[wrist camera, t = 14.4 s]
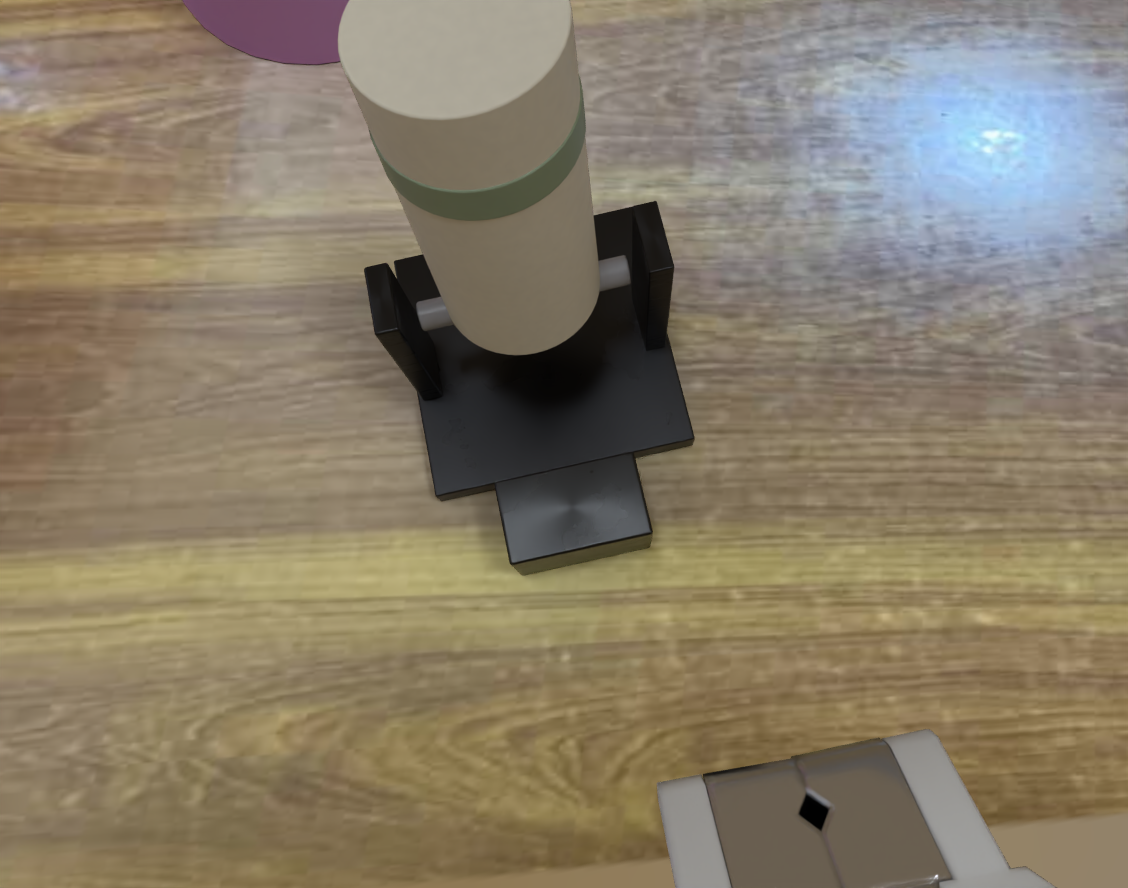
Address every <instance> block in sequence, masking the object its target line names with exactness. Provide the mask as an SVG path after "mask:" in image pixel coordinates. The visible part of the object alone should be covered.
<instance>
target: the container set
mask: <svg viewBox="0 0 1128 888" xmlns="http://www.w3.org/2000/svg"><path fill="white" fill-rule="evenodd" d="M182 1H183V2H184V4H185V5H186V7H187V8H188V9H189V11H190V12H191V13H192V14H193V15H194V16H195V18H196V19H197V20H198V21H199V22H200V23H201V25H202V26H203V27H204V28H205V29H207V30H208V31H209V32H211V33H212V34H213V35H215V36H216V37H218V38H219V39H220V40H222V41H223V42H224V43H226V44H227V45H230V46H232V47H234V48H236V49H239V50H241V51H243V52H245V53H248V54H250V55H252V56H255V57H259V58H264V59H268V60H272V61H277V62H281V63H293V64H324V63H331V62H338V61H340V57H339V53H338V32H339V25H340V21H341V18H342V14H343V12H344V10H345V7H346V5H347V3H348V1H349V0H182Z"/></svg>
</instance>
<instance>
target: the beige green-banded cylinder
mask: <svg viewBox="0 0 1128 888" xmlns="http://www.w3.org/2000/svg"><path fill="white" fill-rule="evenodd" d="M338 53H339V57H340V62H341V65H342V67H343V69H344V72H345V74H346V76H347V79H348V81H349V83H350V86H351V88H352V90H353V93H354V95H355V97H356V100H357V102H358V104H359V107H360V109H361V111H362V114H363V116H364V118H365V121H366V123H367V125H368V128H369V132H370V136H371V140H372V142H373V144H374V147H375V149H376V151H377V154H378V156H379V158H380V161H381V163H382V165H383V167H384V170H385V172H386V174H387V177H388V178H389V180H390V181H391V183H392V184H393V186H394V188H395V190H396V193H397V195H398V197H399V200H400V202H401V204H402V206H403V209H404V211H405V213H406V216H407V218H408V220H409V223H410V225H411V227H412V230H413V232H414V234H415V237H416V239H417V241H418V244H419V246H420V248H421V251H422V253H423V255H424V258H425V260H426V262H427V265H428V267H429V269H430V272H431V274H432V276H433V278H434V281H435V283H436V285H437V288H438V290H439V292H440V295H441V297H437V298H433V299H429V300H424V301H420V302H417V304H416V309H417V315H418V319H419V322H420V325H421V328H422V329H423V331H428V330H432V329H437V328H441V327H445V326H450V325H455V326H456V327H457V329H458V330H459V331H460V332H461V333H462V334H463V335H464V336H465V337H466V338H467V339H468V340H470V341H471V342H473V343H474V344H476V345H478V346H480V347H482V348H484V349H487V350H490V351H493V352H496V353H501V354H507V355H527V354H533V353H538V352H541V351H545V350H548V349H550V348H553V347H555V346H557V345H559V344H561V343H562V342H564V341H566V340H567V339H568V338H570V337H571V336H572V335H574V334H575V333H576V332H577V331H578V330H579V329H580V328H581V327H582V326H583V325H584V323H585V322H586V321H587V320H588V318H589V316H590V315H591V313H592V311H593V309H594V307H595V305H596V302H597V299H598V295H599V292H600V291H604V290H609V289H613V288H618V287H622V286H627V285H630V284H631V274H630V269H629V265H628V261H627V258H626V256H624V255H622V256H618V257H614V258H609V259H605V260H600V261H598V253H597V244H596V234H595V225H594V215H593V206H592V196H591V187H590V177H589V168H588V158H587V149H586V139H585V132H586V125H585V111H584V101H583V91H582V85H581V80H580V76H579V73H578V63H577V54H576V44H575V35H574V25H573V16H572V8H571V3H570V0H349V1H348V3H347V5H346V7H345V10H344V12H343V14H342V18H341V21H340V25H339V32H338Z"/></svg>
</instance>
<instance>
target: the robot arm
mask: <svg viewBox="0 0 1128 888" xmlns="http://www.w3.org/2000/svg"><path fill="white" fill-rule="evenodd" d="M657 791H658V801H659V806H660V811H661V816H662V821H663V826H664V831H665V836H666V842H667V847H668V852H669V857H670V862H671V867H672V872H673V877H674V882H675V887H676V888H1057V887H1055V886H1053V885H1052V884H1051V883H1049V882H1048V881H1046V880H1045V879H1044V878H1042V877H1041V876H1039V875H1038V874H1036V873H1035V872H1033V871H1032V870H1030V869H1029V868H1028V867H1026V866H1023V867H1017V868H1010V866H1009V865H1008V863H1007V861H1006V859H1005V857H1004V855H1003V854H1002V852H1001V850H1000V848H999V846H998V845H997V843H996V841H995V839H994V837H993V836H992V834H991V832H990V830H989V828H988V826H987V825H986V823H985V821H984V819H983V817H982V816H981V814H980V812H979V810H978V808H977V806H976V805H975V803H974V801H973V799H972V797H971V796H970V794H969V792H968V790H967V788H966V787H965V785H964V783H963V781H962V779H961V777H960V776H959V774H958V772H957V770H956V768H955V767H954V765H953V763H952V761H951V759H950V758H949V756H948V754H947V752H946V750H945V748H944V747H943V745H942V743H941V741H940V739H939V738H938V736H937V735H935V734H934V733H933V732H932V731H931V730H930V729H923V730H919V731H914V732H910V733H905V734H901V735H896V736H891V737H887V738H883V739H880V738H874V739H870V740H865V741H861V742H856V743H851V744H847V745H842V746H837V747H833V748H828V749H824V750H819V751H814V752H810V753H805V754H801V755H796V756H791V759H785V760H779V761H774V762H768V763H762V764H757V765H751V766H745V767H740V768H734V769H728V770H723V771H717V772H711V773H706V774H703V777H702V774H699V775H694V776H689V777H684V778H679V779H673V780H668V781H663V782H658V783H657Z"/></svg>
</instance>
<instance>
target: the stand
mask: <svg viewBox="0 0 1128 888" xmlns="http://www.w3.org/2000/svg"><path fill="white" fill-rule="evenodd" d="M594 225H595V234H596V244H597V253H598V261H600V260H605V259H609V258H614V257H618V256H622V255H624V256H626V258H627V261H628V265H629V269H630V274H631V284H630V285H627V286H622V287H618V288H613V289H609V290H604V291H600V292H599V295H598V299H597V302H596V305H595V307H594V309H593V311H592V313H591V315H590V316H589V318H588V320H587V321H586V322H585V323H584V325H583V326H582V327H581V328H580V329H579V330H578V331H577V332H576V333H575V334H574V335H572V336H571V337H570V338H568V339H567V340H566V341H564V342H562V343H561V344H559V345H557V346H555V347H553V348H550V349H548V350H545V351H541V352H538V353H533V354H527V355H507V354H501V353H496V352H493V351H490V350H487V349H484V348H482V347H480V346H478V345H476V344H474V343H473V342H471V341H470V340H468V339H467V338H466V337H465V336H464V335H463V334H462V333H461V332H460V331H459V330H458V329H457V327H456V326H455V325H450V326H445V327H441V328H437V329H432V330H428V331H423V329H422V328H421V325H420V322H419V319H418V315H417V309H416V304H417V302H420V301H424V300H429V299H433V298H437V297H441V295H440V292H439V290H438V288H437V285H436V283H435V281H434V278H433V276H432V274H431V272H430V269H429V267H428V265H427V262H426V260H425V258H424V255H418V256H414V257H409V258H405V259H401V260H396V261H394V265H395V271H396V276H397V279H396V277H395V275H394V274H393V272H392V270H391V268H390V267H389V265H388V264H387V263H383V264H379V265H374V266H370V267H366V268H365V269H364V272H365V278H366V284H367V290H368V296H369V302H370V308H371V314H372V320H373V326H374V332H375V335H376V336H377V338H378V339H379V340H380V342H381V343H382V344H383V346H384V347H385V348H386V350H387V351H388V353H389V354H390V355H391V357H392V358H393V359H394V361H395V362H396V363H397V365H398V366H399V367H400V369H401V370H402V371H403V373H404V374H405V376H406V377H407V378H408V380H409V381H410V382H411V384H412V385H413V386H414V388H415V389H416V390H417V394H418V400H419V405H420V411H421V417H422V422H423V428H424V433H425V439H426V445H427V450H428V456H429V461H430V467H431V473H432V478H433V484H434V489H435V495H436V497H437V498H438V499H440V500H441V501H445V500H449V499H453V498H458V497H462V496H467V495H471V494H476V493H480V492H485V491H489V490H494V489H495V491H496V496H497V501H498V506H499V511H500V516H501V521H502V526H503V531H504V536H505V541H506V546H507V552H508V557H509V562H510V564H511V565H512V566H513V567H514V568H515V569H516V570H517V571H518V572H519V573H520V574H521V575H528V574H533V573H537V572H542V571H546V570H551V569H555V568H560V567H564V566H569V565H573V564H578V563H582V562H587V561H591V560H596V559H600V558H605V557H609V556H614V555H618V554H623V553H627V552H632V551H636V550H641V549H645V548H649V547H650V544H651V538H652V532H653V531H652V527H651V522H650V518H649V514H648V510H647V506H646V502H645V498H644V493H643V489H642V485H641V481H640V477H639V473H638V469H637V464H636V460H635V458H637V457H641V456H646V455H650V454H655V453H659V452H663V451H668V450H672V449H677V448H681V447H686V446H690V445H693V441H694V434H693V430H692V426H691V422H690V419H689V415H688V411H687V407H686V403H685V399H684V396H683V392H682V388H681V384H680V380H679V376H678V373H677V369H676V365H675V361H674V357H673V353H672V350H671V346H670V342H669V338H668V334H667V327H668V318H669V309H670V300H671V291H672V282H673V273H674V264H673V260H672V257H671V253H670V249H669V245H668V242H667V238H666V234H665V230H664V227H663V223H662V219H661V216H660V212H659V208H658V204H657V202H656V201H654V202H649V203H645V204H640V205H636V206H633V207H629V208H625V209H620V210H616V211H611V212H607V213H603V214H598V215H594Z"/></svg>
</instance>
